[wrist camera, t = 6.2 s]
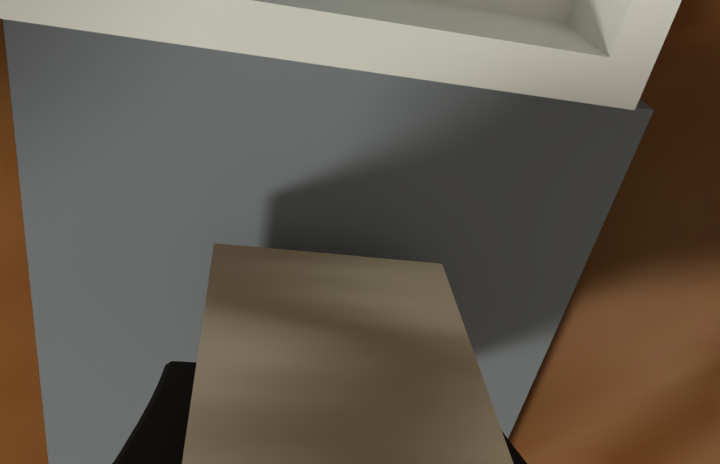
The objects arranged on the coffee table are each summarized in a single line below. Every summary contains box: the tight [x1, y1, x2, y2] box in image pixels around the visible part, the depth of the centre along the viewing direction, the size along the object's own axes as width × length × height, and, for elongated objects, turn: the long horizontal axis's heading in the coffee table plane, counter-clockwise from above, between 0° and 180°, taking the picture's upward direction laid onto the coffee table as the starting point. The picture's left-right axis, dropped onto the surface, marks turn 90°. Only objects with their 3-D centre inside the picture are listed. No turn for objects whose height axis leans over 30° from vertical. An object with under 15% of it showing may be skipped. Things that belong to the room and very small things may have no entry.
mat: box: [3, 19, 654, 464], centre depth 15 cm, size 12×12×1 cm
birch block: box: [182, 243, 513, 464], centre depth 12 cm, size 4×4×5 cm
